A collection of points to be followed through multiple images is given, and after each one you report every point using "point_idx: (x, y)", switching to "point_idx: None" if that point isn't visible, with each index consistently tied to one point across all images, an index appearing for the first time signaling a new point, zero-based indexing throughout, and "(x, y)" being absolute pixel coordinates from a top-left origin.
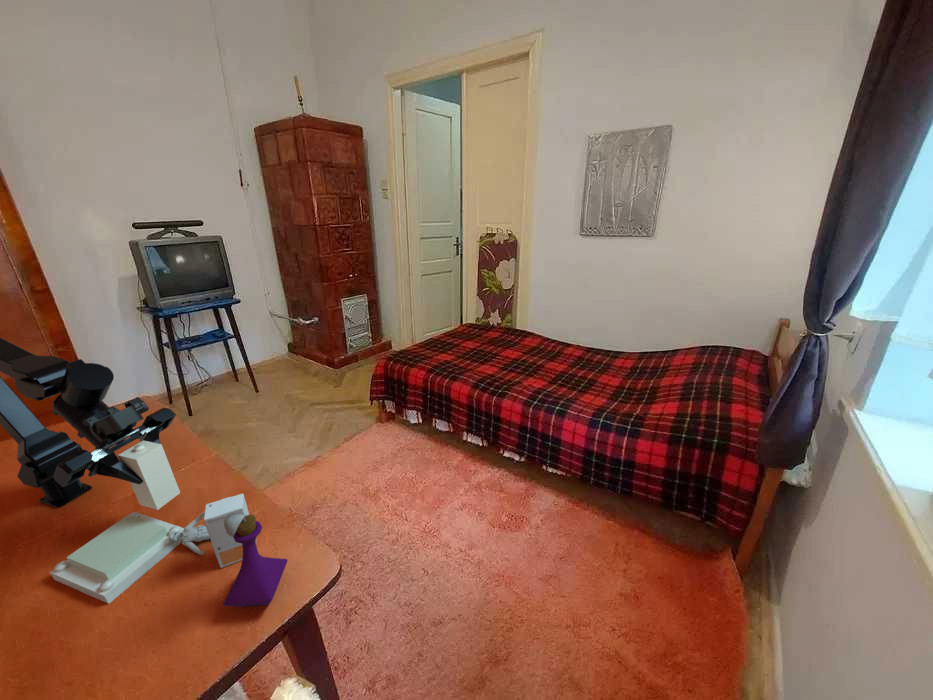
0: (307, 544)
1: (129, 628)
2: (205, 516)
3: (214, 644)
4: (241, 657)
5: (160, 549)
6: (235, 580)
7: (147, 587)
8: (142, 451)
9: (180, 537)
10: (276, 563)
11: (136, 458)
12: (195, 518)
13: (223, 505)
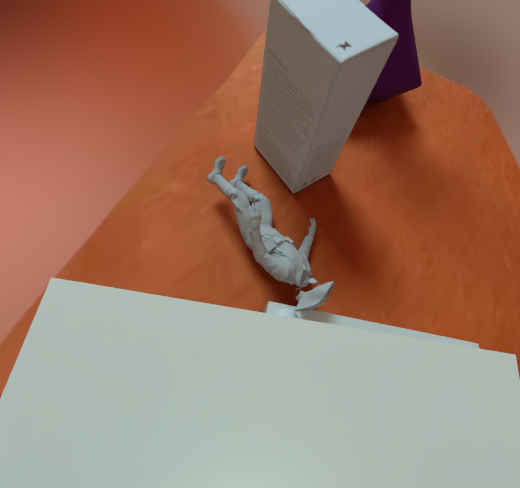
0: (252, 59)
1: (471, 254)
2: (387, 36)
3: (437, 111)
4: (436, 73)
5: (342, 316)
6: (409, 44)
7: (403, 291)
8: (303, 485)
9: (305, 282)
10: None
11: (492, 388)
12: (261, 255)
13: (333, 15)
